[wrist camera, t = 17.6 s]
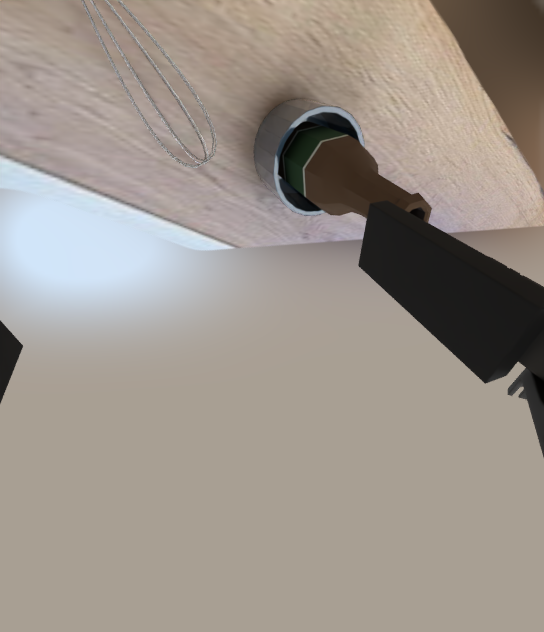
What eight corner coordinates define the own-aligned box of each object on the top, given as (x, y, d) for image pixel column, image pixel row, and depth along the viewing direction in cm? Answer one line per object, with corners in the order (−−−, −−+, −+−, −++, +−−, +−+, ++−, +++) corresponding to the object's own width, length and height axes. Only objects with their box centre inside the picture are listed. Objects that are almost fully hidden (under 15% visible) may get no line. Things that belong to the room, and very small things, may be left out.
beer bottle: (329, 160, 42) (460, 229, 25) (285, 194, 43) (382, 281, 26) (308, 104, 37) (456, 143, 20) (258, 144, 38) (359, 213, 21)
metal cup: (236, 160, 39) (253, 178, 33) (294, 73, 35) (325, 76, 29) (294, 210, 46) (317, 232, 40) (348, 143, 42) (381, 156, 37)
